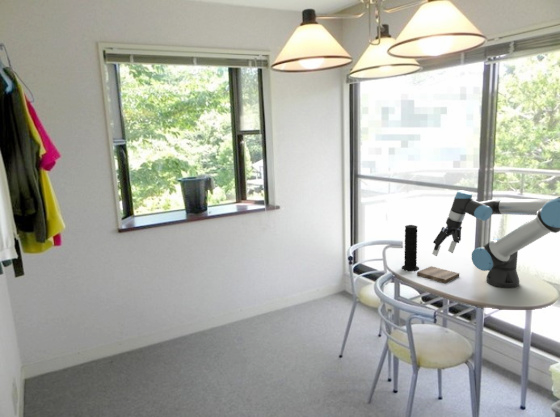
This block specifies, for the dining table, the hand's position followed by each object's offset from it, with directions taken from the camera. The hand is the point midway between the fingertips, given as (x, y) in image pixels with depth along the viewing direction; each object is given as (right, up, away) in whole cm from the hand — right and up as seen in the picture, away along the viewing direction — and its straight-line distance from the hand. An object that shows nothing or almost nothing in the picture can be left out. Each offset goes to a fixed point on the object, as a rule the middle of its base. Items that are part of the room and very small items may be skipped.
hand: (442, 253), depth 221 cm
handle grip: (-13, -11, +16) cm, 23 cm away
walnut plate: (-2, -13, +1) cm, 13 cm away
